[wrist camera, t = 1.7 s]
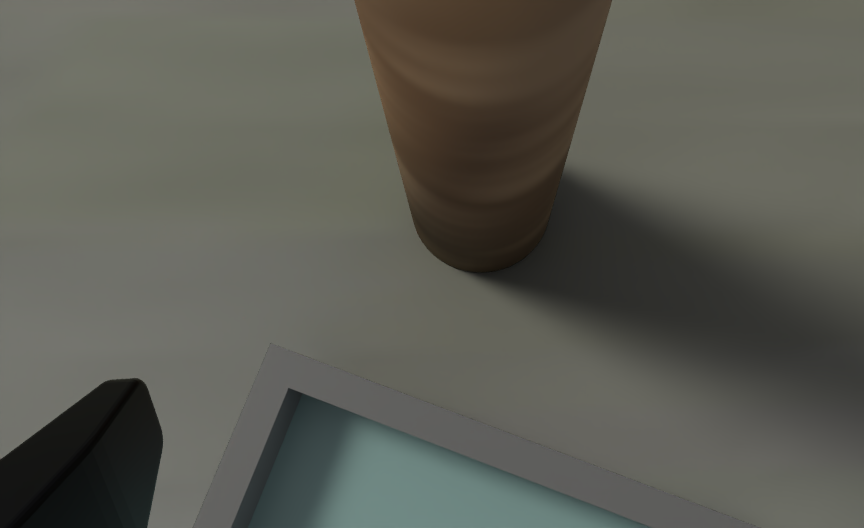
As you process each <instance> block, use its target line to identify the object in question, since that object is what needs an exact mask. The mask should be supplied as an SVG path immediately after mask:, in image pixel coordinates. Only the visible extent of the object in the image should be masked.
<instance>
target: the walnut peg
mask: <svg viewBox="0 0 864 528" xmlns="http://www.w3.org/2000/svg"><path fill="white" fill-rule="evenodd" d="M611 2H612V0H355V4H356V8H357V12H358V15H359V19H360V23H361V27H362V30H363V34H364V38H365V42H366V45H367V49H368V53H369V57H370V60H371V64H372V68H373V72H374V75H375V79H376V83H377V87H378V90H379V94H380V98H381V102H382V105H383V109H384V113H385V117H386V120H387V124H388V128H389V132H390V135H391V139H392V143H393V147H394V150H395V154H396V158H397V162H398V165H399V169H400V173H401V177H402V180H403V184H404V188H405V192H406V195H407V199H408V203H409V207H410V210H411V214H412V218H413V222H414V225H415V228H416V231H417V233H418V235H419V237H420V239H421V241H422V242H423V243H424V245H425V246H426V247H427V249H428V250H429V251H430V252H431V253H432V254H433V255H434V256H436V257H437V258H438V259H440V260H441V261H443V262H444V263H446V264H448V265H450V266H452V267H455V268H457V269H461V270H464V271H470V272H492V271H497V270H501V269H504V268H507V267H509V266H512V265H513V264H515V263H517V262H519V261H520V260H522V259H523V258H525V257H526V256H527V255H528V254H529V253H530V252H531V251H532V250H533V249H534V248H535V247H536V245H537V244H538V243H539V241H540V240H541V238H542V236H543V234H544V232H545V230H546V227H547V224H548V220H549V217H550V214H551V210H552V207H553V203H554V200H555V196H556V193H557V189H558V186H559V182H560V179H561V175H562V172H563V168H564V165H565V162H566V158H567V155H568V151H569V148H570V144H571V141H572V137H573V134H574V130H575V127H576V123H577V120H578V116H579V113H580V110H581V106H582V103H583V99H584V96H585V92H586V89H587V85H588V82H589V78H590V75H591V71H592V68H593V65H594V61H595V58H596V54H597V51H598V47H599V44H600V40H601V37H602V33H603V30H604V26H605V23H606V19H607V16H608V13H609V9H610V6H611Z"/></svg>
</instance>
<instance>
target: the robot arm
mask: <svg viewBox="0 0 864 528" xmlns="http://www.w3.org/2000/svg"><path fill="white" fill-rule="evenodd" d="M162 448H163V435H162V430H161V426H160V423H159V420H158V417H157V415H156V412H155V409H154V406H153V403H152V400H151V397H150V394H149V391H148V388H147V386H146V384H145V383H144V382H143V381H142V380H140V379H138V378H131V379H116V380H108V381H105V382H104V383H102V384H101V385H99V386H98V387H97V388H95V389H94V390H93V391H91V392H90V393H89V394H87V395H86V396H85V397H83V398H82V399H81V400H79V401H78V402H77V403H75V404H74V405H73V406H71V407H70V408H69V409H67V410H66V411H65V412H63V413H62V414H61V415H59V416H58V417H57V418H55V419H54V420H53V421H51V422H50V423H49V424H47V425H46V426H45V427H43V428H42V429H41V430H39V431H38V432H37V433H35V434H34V435H33V436H31V437H30V438H29V439H27V440H26V441H25V442H23V443H22V444H21V445H19V446H18V447H17V448H15V449H14V450H13V451H11V452H10V453H9V454H7V455H6V456H5V457H3V458H2V459H1V460H0V528H147V525H148V520H149V515H150V510H151V505H152V500H153V495H154V490H155V485H156V480H157V474H158V469H159V464H160V459H161V454H162Z"/></svg>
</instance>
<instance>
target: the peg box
mask: <svg viewBox="0 0 864 528" xmlns="http://www.w3.org/2000/svg"><path fill="white" fill-rule="evenodd" d="M193 528H760V527H757V526H754V525H752V524H749V523H746V522H744V521H741V520H738V519H736V518H733V517H730V516H728V515H725V514H723V513H720V512H717V511H715V510H712V509H709V508H707V507H704V506H701V505H699V504H696V503H693V502H691V501H688V500H685V499H683V498H680V497H677V496H675V495H672V494H670V493H667V492H664V491H662V490H659V489H656V488H654V487H651V486H648V485H646V484H643V483H640V482H638V481H635V480H632V479H630V478H627V477H624V476H622V475H619V474H617V473H614V472H611V471H609V470H606V469H603V468H601V467H598V466H595V465H593V464H590V463H587V462H585V461H582V460H579V459H577V458H574V457H571V456H569V455H566V454H563V453H561V452H558V451H556V450H553V449H550V448H548V447H545V446H542V445H540V444H537V443H534V442H532V441H529V440H526V439H524V438H521V437H518V436H516V435H513V434H510V433H508V432H505V431H503V430H500V429H497V428H495V427H492V426H489V425H487V424H484V423H481V422H479V421H476V420H473V419H471V418H468V417H465V416H463V415H460V414H457V413H455V412H452V411H449V410H447V409H444V408H442V407H439V406H436V405H434V404H431V403H428V402H426V401H423V400H420V399H418V398H415V397H412V396H410V395H407V394H404V393H402V392H399V391H396V390H394V389H391V388H389V387H386V386H383V385H381V384H378V383H375V382H373V381H370V380H367V379H365V378H362V377H359V376H357V375H354V374H351V373H349V372H346V371H343V370H341V369H338V368H336V367H333V366H330V365H328V364H325V363H322V362H320V361H317V360H314V359H312V358H309V357H306V356H304V355H301V354H298V353H296V352H293V351H290V350H288V349H285V348H282V347H280V346H277V345H275V344H272V343H270V345H269V347H268V350H267V352H266V355H265V357H264V359H263V362H262V364H261V366H260V369H259V371H258V374H257V376H256V378H255V381H254V383H253V385H252V388H251V390H250V393H249V395H248V397H247V400H246V402H245V404H244V407H243V409H242V412H241V414H240V416H239V419H238V421H237V423H236V426H235V428H234V431H233V433H232V435H231V438H230V440H229V442H228V445H227V447H226V450H225V452H224V454H223V457H222V459H221V461H220V464H219V466H218V469H217V471H216V473H215V476H214V478H213V480H212V483H211V485H210V488H209V490H208V492H207V495H206V497H205V499H204V502H203V504H202V507H201V509H200V511H199V514H198V516H197V518H196V521H195V523H194V526H193Z"/></svg>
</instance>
